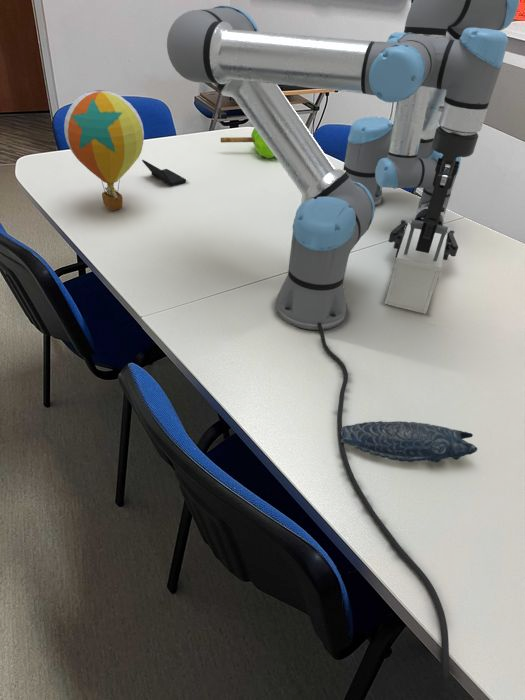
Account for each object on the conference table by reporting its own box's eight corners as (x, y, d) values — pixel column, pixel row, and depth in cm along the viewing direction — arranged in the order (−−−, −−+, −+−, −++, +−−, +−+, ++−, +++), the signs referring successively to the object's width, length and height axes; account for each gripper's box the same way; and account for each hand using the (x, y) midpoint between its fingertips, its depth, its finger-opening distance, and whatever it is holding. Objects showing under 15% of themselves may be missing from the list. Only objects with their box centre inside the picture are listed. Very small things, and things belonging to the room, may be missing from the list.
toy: (64, 203, 145) (44, 85, 127) (127, 189, 156) (117, 79, 137) (97, 229, 134) (80, 105, 116) (162, 213, 145) (156, 96, 126)
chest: (425, 314, 115) (440, 270, 108) (384, 303, 117) (396, 260, 110) (432, 278, 128) (446, 236, 121) (395, 269, 130) (406, 228, 123)
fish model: (475, 475, 80) (486, 454, 77) (339, 458, 81) (344, 436, 78) (466, 443, 85) (476, 422, 82) (339, 427, 86) (344, 405, 83)
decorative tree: (217, 117, 188) (297, 117, 193) (217, 147, 194) (295, 146, 200) (224, 132, 174) (310, 131, 180) (224, 163, 181) (307, 162, 186)
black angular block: (190, 175, 164) (173, 153, 156) (179, 193, 163) (161, 172, 155) (166, 170, 170) (147, 148, 162) (155, 188, 169) (136, 167, 161)
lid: (440, 271, 107) (452, 233, 102) (395, 261, 110) (405, 223, 104) (446, 236, 121) (458, 200, 115) (406, 228, 123) (416, 192, 118)
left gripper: (441, 114, 101) (410, 226, 115) (432, 138, 88) (399, 260, 103) (480, 121, 99) (444, 233, 114) (478, 146, 86) (438, 269, 101)
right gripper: (466, 243, 139) (461, 282, 122) (385, 225, 144) (370, 261, 127) (475, 216, 135) (472, 254, 118) (391, 199, 139) (376, 233, 123)
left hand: (423, 245), depth 108 cm, fingers open, 4 cm apart
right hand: (419, 257), depth 123 cm, fingers closed on chest, 9 cm apart
